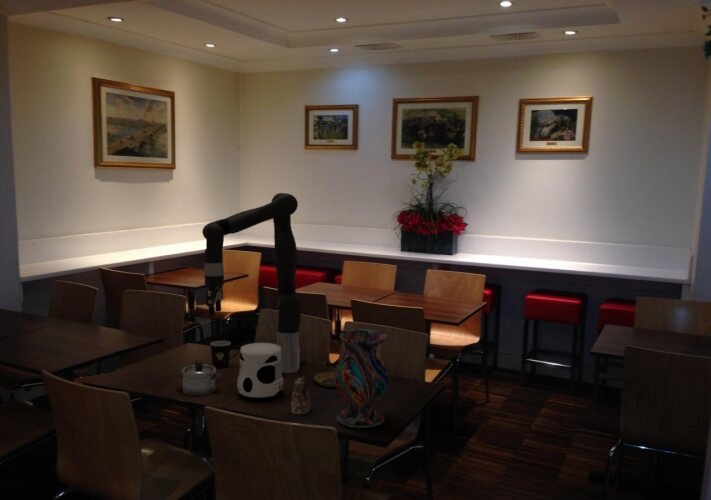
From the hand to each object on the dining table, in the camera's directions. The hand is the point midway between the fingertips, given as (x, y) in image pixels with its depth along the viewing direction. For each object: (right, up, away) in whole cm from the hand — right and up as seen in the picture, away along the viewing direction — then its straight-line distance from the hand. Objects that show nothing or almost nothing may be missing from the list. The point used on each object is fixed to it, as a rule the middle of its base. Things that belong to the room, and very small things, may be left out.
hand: (215, 313), depth 247 cm
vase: (+58, -33, -35) cm, 75 cm away
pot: (-4, -28, -10) cm, 30 cm away
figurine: (+37, -32, -27) cm, 56 cm away
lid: (-4, -21, -11) cm, 24 cm away
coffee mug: (-1, -25, +19) cm, 32 cm away
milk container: (+20, -30, -13) cm, 38 cm away
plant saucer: (+47, -29, +3) cm, 55 cm away
